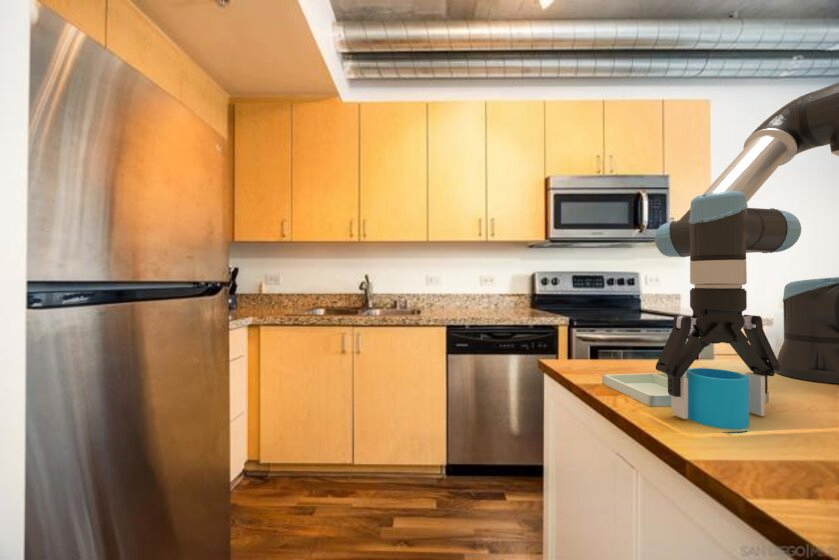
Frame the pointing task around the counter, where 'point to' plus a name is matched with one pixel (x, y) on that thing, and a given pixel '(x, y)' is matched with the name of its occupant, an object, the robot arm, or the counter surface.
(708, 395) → the mug
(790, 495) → the counter surface
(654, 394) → the grey-green flat rectangular tray
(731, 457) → the counter surface
